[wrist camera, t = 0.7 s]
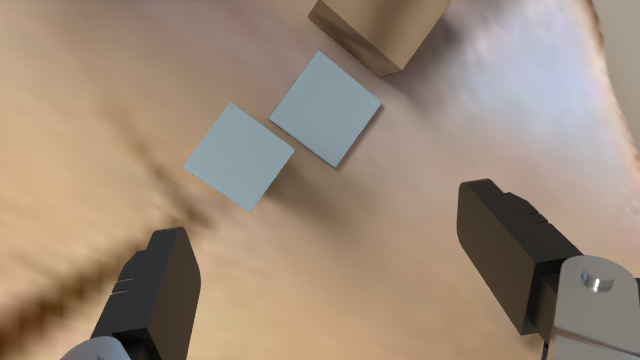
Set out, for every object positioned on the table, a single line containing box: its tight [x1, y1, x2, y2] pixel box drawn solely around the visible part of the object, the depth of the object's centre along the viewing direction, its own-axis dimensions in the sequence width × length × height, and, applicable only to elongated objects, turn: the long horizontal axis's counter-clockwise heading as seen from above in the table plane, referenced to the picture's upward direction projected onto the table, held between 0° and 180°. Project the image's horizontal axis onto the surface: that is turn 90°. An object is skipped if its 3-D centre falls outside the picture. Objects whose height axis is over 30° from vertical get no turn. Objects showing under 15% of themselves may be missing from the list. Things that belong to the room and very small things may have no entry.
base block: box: [308, 0, 452, 78], centre depth 32 cm, size 8×8×5 cm
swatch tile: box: [268, 50, 382, 168], centre depth 34 cm, size 7×7×1 cm
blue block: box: [182, 102, 295, 213], centre depth 28 cm, size 4×4×11 cm
